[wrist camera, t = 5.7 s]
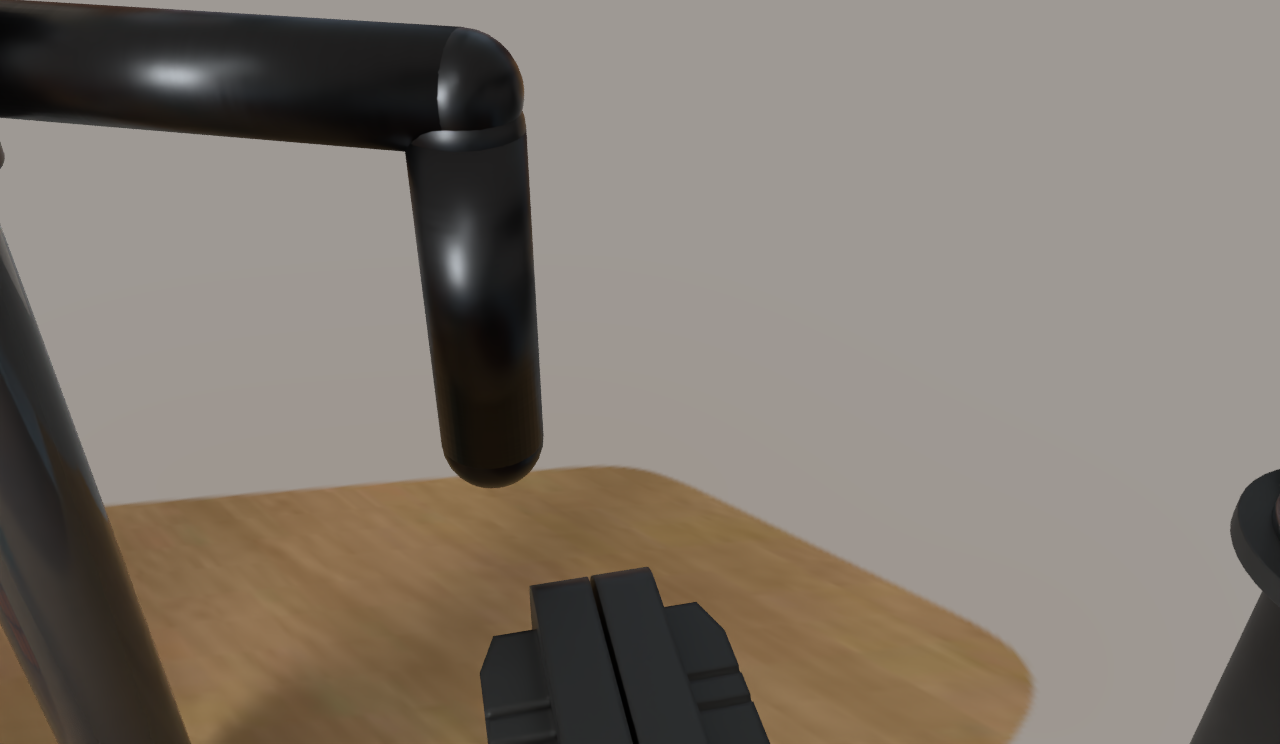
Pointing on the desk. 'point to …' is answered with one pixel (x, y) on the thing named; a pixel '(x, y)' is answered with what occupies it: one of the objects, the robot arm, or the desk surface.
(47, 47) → the spout
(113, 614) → the faucet base
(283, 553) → the desk surface
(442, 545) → the desk surface
